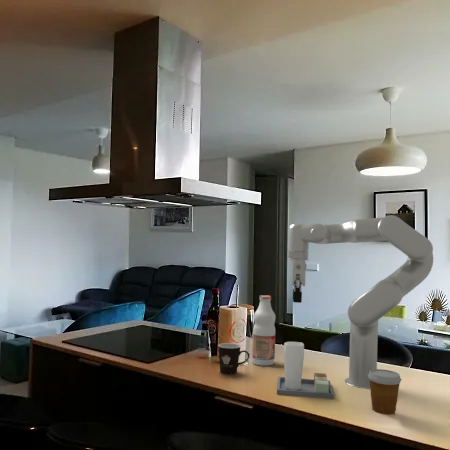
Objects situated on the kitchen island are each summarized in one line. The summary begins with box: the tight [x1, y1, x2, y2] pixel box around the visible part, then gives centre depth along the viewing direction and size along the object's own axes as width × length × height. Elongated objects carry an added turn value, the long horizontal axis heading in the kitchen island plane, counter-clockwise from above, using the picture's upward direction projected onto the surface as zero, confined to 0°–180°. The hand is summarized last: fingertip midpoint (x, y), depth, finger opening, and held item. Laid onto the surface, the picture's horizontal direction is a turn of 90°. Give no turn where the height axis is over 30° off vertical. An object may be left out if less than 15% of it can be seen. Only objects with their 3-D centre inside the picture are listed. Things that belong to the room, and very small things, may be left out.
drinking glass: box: [283, 341, 305, 390], centre depth 151 cm, size 7×7×15 cm
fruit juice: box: [251, 295, 276, 367], centre depth 187 cm, size 9×9×28 cm
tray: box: [276, 376, 335, 400], centre depth 151 cm, size 18×15×2 cm
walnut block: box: [313, 372, 328, 388], centre depth 154 cm, size 4×4×4 cm
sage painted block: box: [315, 380, 329, 393], centre depth 145 cm, size 4×4×4 cm
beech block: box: [315, 376, 329, 383], centre depth 150 cm, size 4×4×4 cm
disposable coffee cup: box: [368, 368, 402, 416], centre depth 134 cm, size 10×10×12 cm
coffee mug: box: [217, 342, 250, 375], centre depth 171 cm, size 12×9×10 cm
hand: (296, 300), depth 171 cm, fingers open, 9 cm apart
